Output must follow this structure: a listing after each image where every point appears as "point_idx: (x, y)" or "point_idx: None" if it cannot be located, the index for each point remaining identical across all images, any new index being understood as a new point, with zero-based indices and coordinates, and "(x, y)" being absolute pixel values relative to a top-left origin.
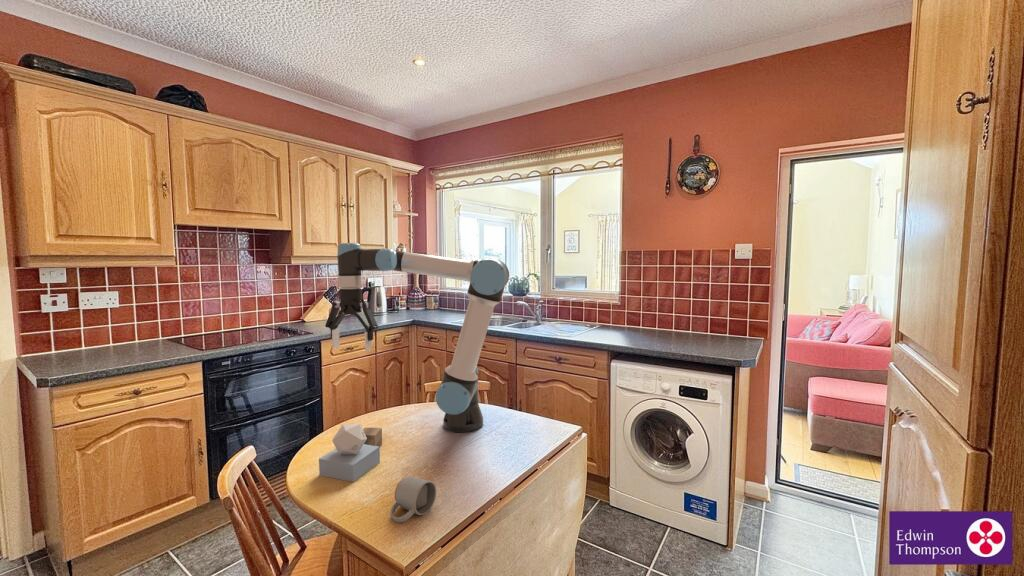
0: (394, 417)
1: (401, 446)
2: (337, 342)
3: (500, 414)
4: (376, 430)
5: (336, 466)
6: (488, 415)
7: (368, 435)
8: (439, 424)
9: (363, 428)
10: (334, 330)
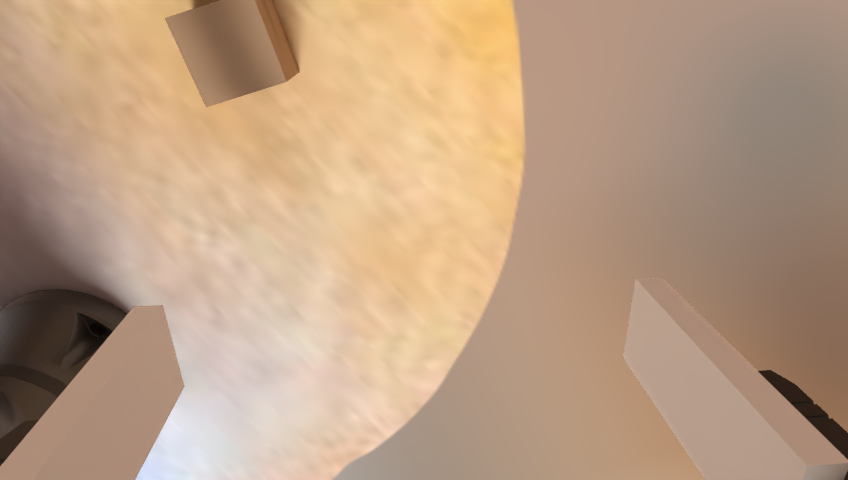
0: (376, 323)
1: (143, 109)
2: (656, 367)
3: None
4: (204, 71)
5: None
6: None
7: (195, 8)
8: None
9: (281, 70)
10: (791, 471)
